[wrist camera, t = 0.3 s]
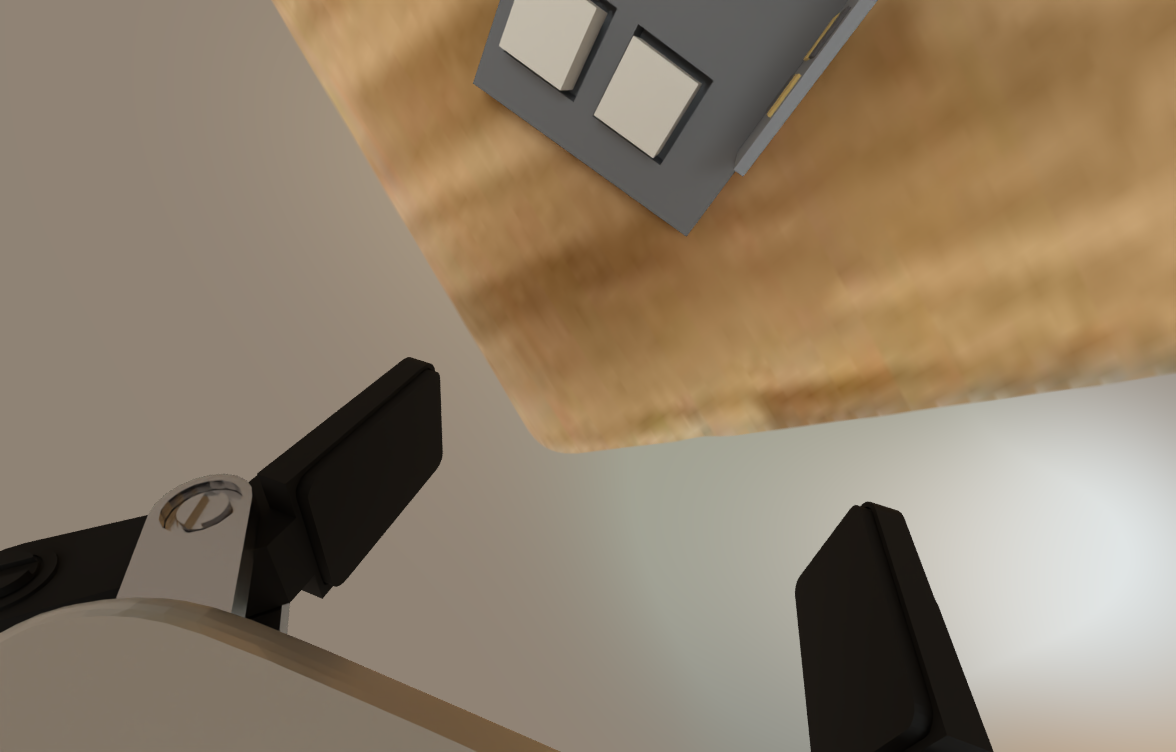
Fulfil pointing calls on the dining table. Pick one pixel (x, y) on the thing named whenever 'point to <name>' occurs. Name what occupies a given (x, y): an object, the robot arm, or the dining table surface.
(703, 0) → the board
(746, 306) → the dining table surface
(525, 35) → the button
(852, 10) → the card
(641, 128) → the button
